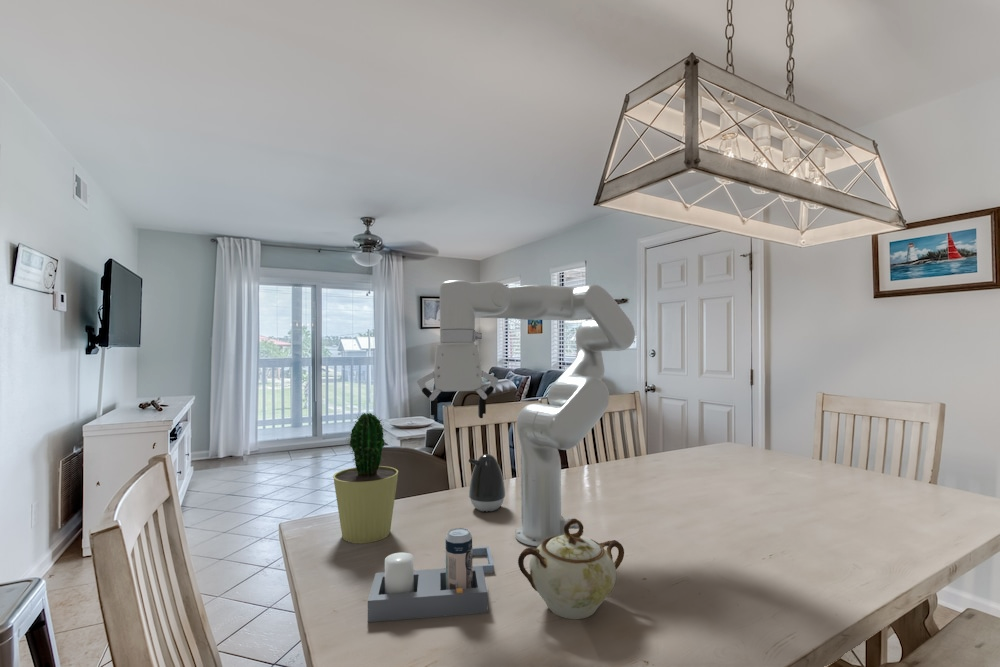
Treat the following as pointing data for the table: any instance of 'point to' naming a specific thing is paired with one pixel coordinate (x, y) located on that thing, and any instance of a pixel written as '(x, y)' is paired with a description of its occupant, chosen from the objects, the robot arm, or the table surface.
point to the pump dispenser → (486, 484)
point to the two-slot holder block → (422, 592)
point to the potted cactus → (366, 485)
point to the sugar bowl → (572, 572)
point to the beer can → (459, 559)
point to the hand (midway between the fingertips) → (458, 418)
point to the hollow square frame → (486, 551)
